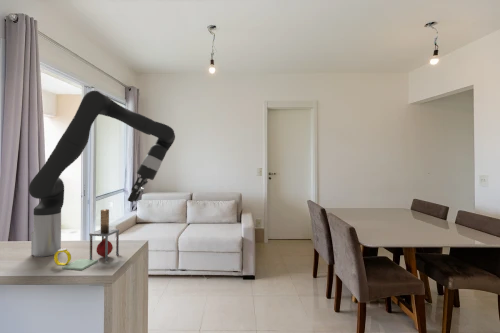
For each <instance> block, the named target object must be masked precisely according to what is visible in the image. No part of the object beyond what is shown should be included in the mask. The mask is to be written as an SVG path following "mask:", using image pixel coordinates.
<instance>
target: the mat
mask: <svg viewBox="0 0 500 333" xmlns="http://www.w3.org/2000/svg"><path fill="white" fill-rule="evenodd" d="M98 262H99V260H98V259H92V260H90V258H89V259H88V258H78V259H76V260H74V261H73V262H69V263H68V264H66V265H62V268H61V269H62V270H75V271H76V270H77V271H83V270H85V269H86V268H89V267H90V266H92V265H94V264H96V263H98Z"/></svg>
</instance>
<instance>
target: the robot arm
mask: <svg viewBox="0 0 500 333" xmlns="http://www.w3.org/2000/svg"><path fill="white" fill-rule="evenodd" d="M100 115H101V116H105V117H110V118H112V119H116V120H117V121H120V122H121V123H124V124H125V125H127V126H129V127H131V128H133V129H134V130H136V131H139V132H140V133H143V134H145V135H148V136H153V137H155V138H157V140H156V141H155V143H154V144H152V145H151V147H150V149H149V150H148V152H147V154H146V155H145V157H144V158H143V160H142V162H141V164H140V166H139V167H138V169H137V171H136V174H137V175H139V176H140V177H139V176H138V177H137V178H136V181H135V183H134V184H133V186H132V188H131V191H130V194H129V196H128V198H127V201H128V202H129V203H130V202H131V203H134V202H135V203H136V202H137V201H138V199H139V198H140V195H142V193H144V190H145V188H146V186H147V184H148V179H149V180H151V181H153V180H154V179H155V177H156V175H157V173H158V172H159V169H160V168H161V165H162V162H163V160H164V158H165V157H166V154H167V153H168V151H169V150H170V148H172V145H173V144H174V142H175V139H176V133H175V130H174V128H172V127H171V126H169V125H167V124H165V123H162V122H159V121H155V120H153V118H149V117H148V116H145V115H143V114H141V113H139V112H137V111H132V110H130V109H127V108H125V107H123V106H121V105H120V104H118V103H117V102H115V101H114V100H112V99H111V98H110V97H109V96H108V95H106V94H104V93H103V92H101V91H98V90H89V91H88V92H86V93H85V95H84V96H83V98H82V99H81V101H80V104H79V106H78V108H77V110H76V112H75V115H74V116H73V118H72V120H71V121H70V122H69V124H68V126H67V127H66V129H65V131H64V132H63V134H62V135H61V137H60V139H59V140H58V141H57V143H56V145H55V148H53V151H52V152H51V154H50V155H49V157H48V158H47V160H46V162H44V164H43V165H42V167H41V169H39V171H38V172H37V173H36V175H35V176H34V177H33V179H31V181H30V182H29V184H28V192H29V194H30V196H31V197H32V198H34V199H38V200H39V203H38V204H36V205H35V207H34V208H33V231H32V232H31V234H30V235H31V237H30V239H31V240H30V241H31V243H30V244H31V250H30V251H31V252H30V255H32V256H33V257H35V258H43V257H50V256H54V255H55V253H56V252H58V250H59V249H62V208H63V205H64V200H65V184H64V182H63V180H62V178H61V175H62V174H63V172H64V171H65V170H66V169H67V168H68V167H69V166H71V165H72V164H73V163H74V162H75V161H76V160H78V158H79V157H80V156H81V155H82V154H83V151H84V150H85V148H86V146H87V145H88V142H89V138H90V135H91V134H90V132H91V128H92V126H93V123H94V122H95V120H96V119H97V117H98V116H100Z"/></svg>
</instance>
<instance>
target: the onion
mask: <svg viewBox="0 0 500 333" xmlns="http://www.w3.org/2000/svg"><path fill="white" fill-rule="evenodd" d="M113 248H114V247H113V244H112V242H111V241H109V240H108V256H109V255H110V254H111V253H112V251H113V250H114V249H113ZM96 253H97V255H98V256H100V257H103V258H105V237H104V239H103V241H102V240H101V241H99V243H98V245H97V246H96Z"/></svg>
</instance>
